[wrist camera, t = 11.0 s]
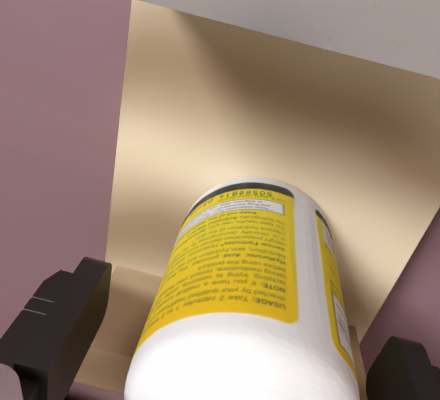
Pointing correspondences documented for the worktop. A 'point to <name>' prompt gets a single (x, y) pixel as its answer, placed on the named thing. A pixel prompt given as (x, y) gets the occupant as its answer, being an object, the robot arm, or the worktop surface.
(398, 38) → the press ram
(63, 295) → the robot arm
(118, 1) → the worktop surface
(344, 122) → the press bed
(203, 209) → the supplement bottle
